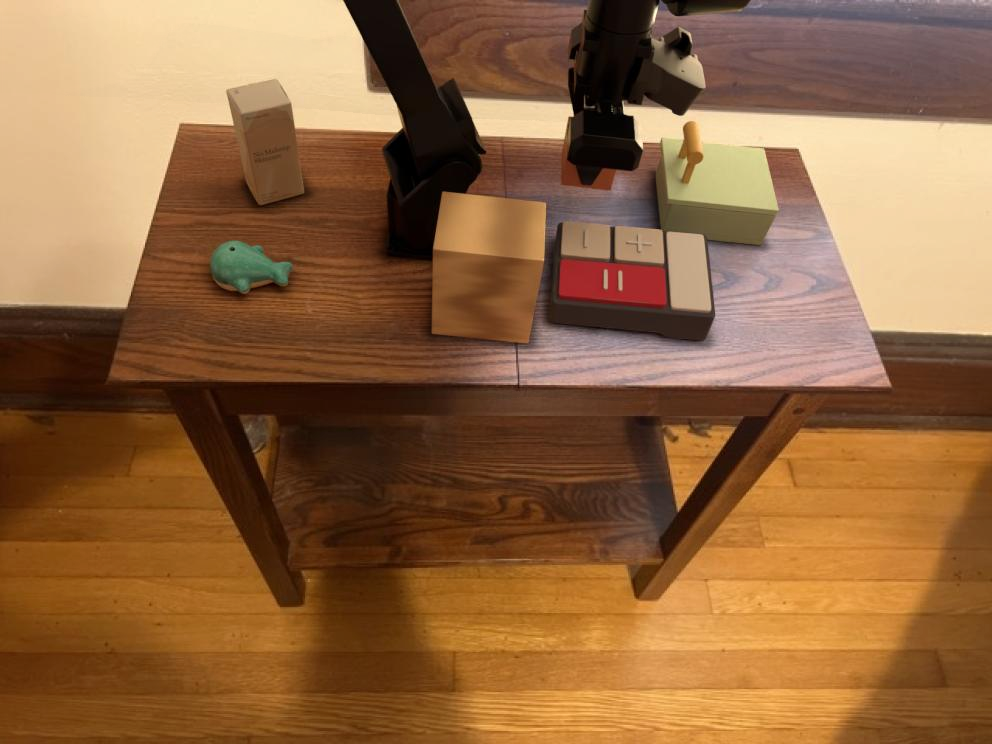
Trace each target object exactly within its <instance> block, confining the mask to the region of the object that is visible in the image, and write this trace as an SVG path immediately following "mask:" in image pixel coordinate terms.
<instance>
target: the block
mask: <svg viewBox="0 0 992 744" xmlns="http://www.w3.org/2000/svg"><path fill="white" fill-rule="evenodd" d="M572 117H573V116H568V118H567V122H566V128H565V134H564V138H563V144H562V149H561V160H560V161H561V164H560V165H561V167H560V168H561V169H560V185H561V186H566V187H573V188H583V189H584V188H585V189H592V190H593V189H594V190H602V191H611V190H612V187H613V183H614V180H615V177H616V176H615V175H616V172H617V170H615V169H606V168H603V169H602V171H601V172H600V174H599V175H598V177H597V178H596V180H595V181H594V183H593V184H592V185H591V186H588V185H582V184H581V183H580V179H579V176H578V172H577V169H576V165H573V164H571V163H570V162H569V161H568V160H567V125H568V124H570V119H571V118H572Z"/></svg>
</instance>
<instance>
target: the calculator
mask: <svg viewBox="0 0 992 744" xmlns="http://www.w3.org/2000/svg"><path fill="white" fill-rule="evenodd" d="M555 231H556V232H555V240H554V249H553V263H552V264H553V265H552V266H553V267H552V279H551V280H552V281H551V297H550V310H549V311H550V312H549V320H550V322H551V323H554V324H564V325H573V326H584V327H593V328H606V329H615V330H616V329H617V330H627V331H628V330H629V331H639V332H649V333H650V332H651V333H659V334H661V335H662V336H664V337H666V338H670V339H680V340H681V339H682V340H691V341H692V340H693V341H705V340H706V338H707V337H708V334H709V332H710V329H711V327H712V325H713V322H714V320H715V318H716V308H715V307H716V306H715V297H714V290H713V289H714V288H713V279H712V271H711V260H710V250H709V242H708V241H709V240H707V237H706V236H705V235H703V234H693V233H682V232H670V231H662V230H661V229H658V228H647V227H638V226H637V227H636V226H635V227H634V226H624V225H616V226H611V225H608V224H604V223H603V224H602V223H591V222H578V221H567V220H565V221H560V222H558V223H557V225H556V230H555Z"/></svg>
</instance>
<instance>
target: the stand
mask: <svg viewBox="0 0 992 744" xmlns="http://www.w3.org/2000/svg"><path fill="white" fill-rule="evenodd" d="M546 216H547V202H546V201H545V202H543V201H536V200H535V201H534V200H526V199H525V200H524V199H517V198H506V197H497V196H490V195H489V196H488V195H481V194H480V195H479V194H469V193H466V194H461V193H452V192H442V197H441V203H440V209H439V215H438V221H437V227H436V234H435V240H434V246H433V260H432V281H431V282H432V287H431V288H432V291H431V293H432V294H431V295H432V296H431V334H432V335H441V336H450V337H460V338H467V339H469V338H470V339H480V340H489V341H499V342H508V343H509V342H510V343H518V344H529V341H530V336H531V331H532V326H533V320H534V317H535V316H534V315H535V310H536V304H537V300H538V296H539V295H538V294H539V289H540V284H541V278H542V274H543V268H544V263H545V244H546V243H545V242H546Z"/></svg>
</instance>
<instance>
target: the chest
mask: <svg viewBox="0 0 992 744" xmlns="http://www.w3.org/2000/svg"><path fill="white" fill-rule="evenodd" d="M655 183H656V193H657V195H656V196H657V203H658V204H657V205H658V214H659V215H658V216H659V225H660V230H662V231H670V232H682V233H693V234H703V235H705V236H706V237H707V241H717V242H727V243H734V244H745V245H755V246H762V245H763V242H764V240H765V238H766V236H767V234H768V232H769V231H770V228H771V226H772V225H773V223H774V221H775V219H776V217H777V215H768V214H759V213H750V212H740V211H731V210H722V209H713V208H703V207H694V206H685V205H675V204H667V203H666V193H665V184H664V174H663V165H662V155H661V156H660V159H659V161H658V164H657V168H656V171H655Z"/></svg>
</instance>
